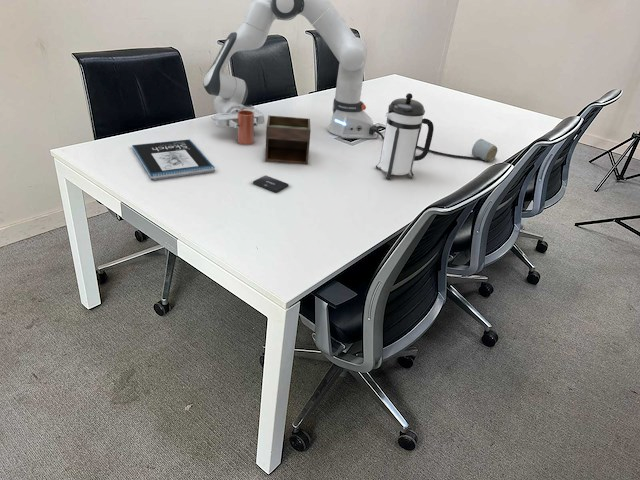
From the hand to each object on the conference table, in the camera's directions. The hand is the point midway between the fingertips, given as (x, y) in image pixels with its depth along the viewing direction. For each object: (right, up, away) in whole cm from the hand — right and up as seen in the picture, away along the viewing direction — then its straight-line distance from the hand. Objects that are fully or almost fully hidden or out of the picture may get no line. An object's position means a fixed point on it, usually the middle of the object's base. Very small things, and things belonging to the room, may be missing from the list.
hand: (246, 125), depth 184 cm
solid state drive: (+12, -27, -26) cm, 40 cm away
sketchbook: (-24, -17, -17) cm, 34 cm away
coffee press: (+58, -20, -7) cm, 62 cm away
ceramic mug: (+99, -11, +15) cm, 101 cm away
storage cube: (+16, -13, -4) cm, 21 cm away
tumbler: (-1, -6, +4) cm, 7 cm away
